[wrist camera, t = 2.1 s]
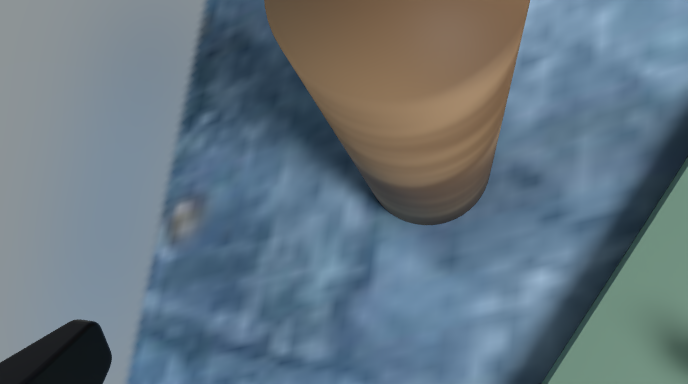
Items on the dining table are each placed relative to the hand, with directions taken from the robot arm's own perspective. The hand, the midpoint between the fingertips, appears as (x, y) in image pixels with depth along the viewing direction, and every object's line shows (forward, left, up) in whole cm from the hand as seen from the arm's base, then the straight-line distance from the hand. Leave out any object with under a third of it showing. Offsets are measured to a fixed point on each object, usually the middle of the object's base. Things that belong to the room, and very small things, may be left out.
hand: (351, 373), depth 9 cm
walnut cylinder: (+6, +3, -13) cm, 15 cm away
